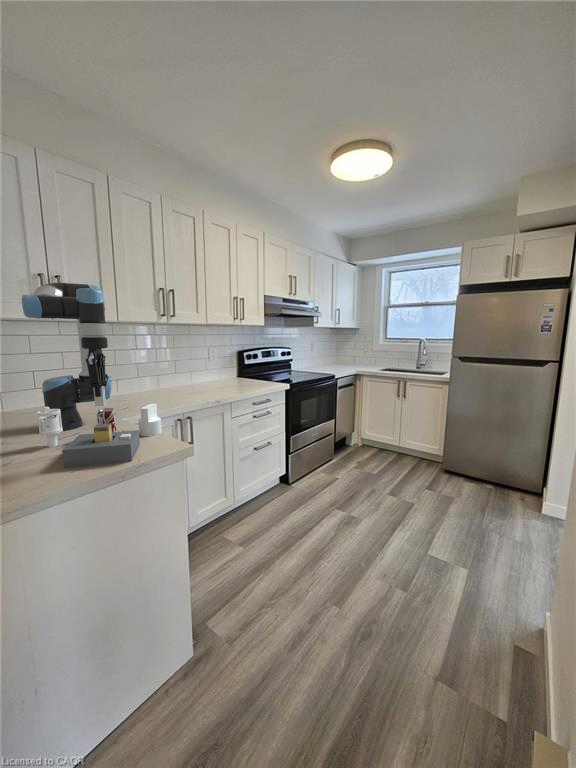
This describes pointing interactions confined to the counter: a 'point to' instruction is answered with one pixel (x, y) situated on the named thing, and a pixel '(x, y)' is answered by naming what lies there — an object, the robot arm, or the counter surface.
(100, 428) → the rectangular block
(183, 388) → the counter surface
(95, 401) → the robot arm
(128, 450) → the socket board
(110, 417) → the soda can
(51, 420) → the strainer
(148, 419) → the cylinder with rectangular tab
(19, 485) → the counter surface
